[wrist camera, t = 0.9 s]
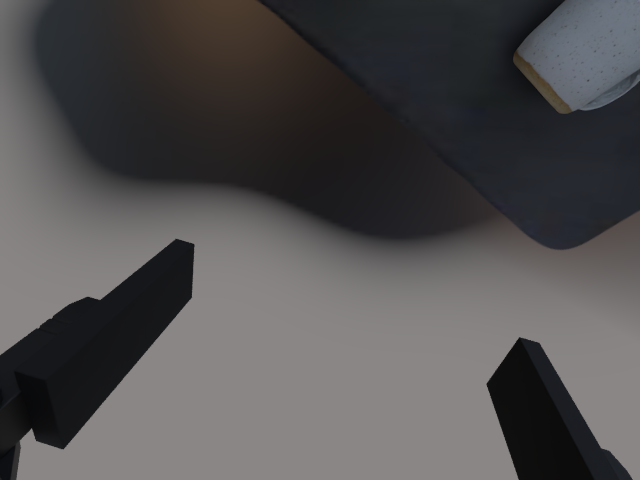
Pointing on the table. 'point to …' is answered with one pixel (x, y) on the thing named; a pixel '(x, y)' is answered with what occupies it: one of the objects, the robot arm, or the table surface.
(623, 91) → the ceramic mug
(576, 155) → the table surface
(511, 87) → the table surface
